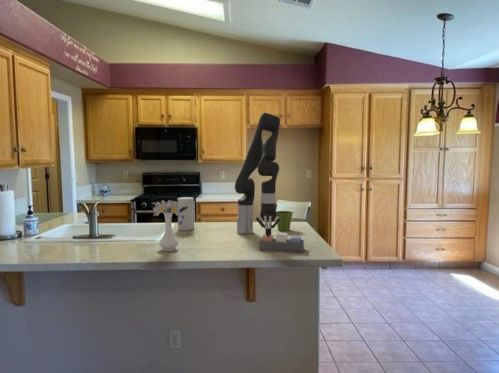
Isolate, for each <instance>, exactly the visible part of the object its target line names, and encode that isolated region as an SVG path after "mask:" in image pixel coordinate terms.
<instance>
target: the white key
mask: <svg viewBox="0 0 499 373" xmlns="http://www.w3.org/2000/svg"><path fill="white" fill-rule="evenodd" d="M275 236H276V237H275V239H276V242H285V243H287V239H288V232H276V235H275Z"/></svg>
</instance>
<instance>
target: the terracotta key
mask: <svg viewBox="0 0 499 373" xmlns="http://www.w3.org/2000/svg"><path fill="white" fill-rule="evenodd" d="M274 236H275V235H274V234H271V235H270V236H267V235H266V234H263V235H262V237H261V238H262V241H265V242H274V239H275V238H274Z"/></svg>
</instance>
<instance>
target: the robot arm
mask: <svg viewBox="0 0 499 373" xmlns="http://www.w3.org/2000/svg"><path fill="white" fill-rule="evenodd" d="M256 125H257V126H256V129H255V133H254V136H253V139H252V140H251V144H250V146H249V149H248V150H247V151H248V152H247V155H246V157H245V160H244V162H243V165H242V167H241V170H240V172H239V174H238V176H237V178H236V180H235V184H234V191H235V192H236V193H237V194H242V195H243V196H242V197H241V198H239V199H238V200H237V217H236V234H242V235H248V234H249V235H251V234H253V233H254V200H255V191H256V190H255V189H256V183H255V180H254V179H253V178H251V177H250V176H251V175H252V173H254V171H256V170H257V173H258V175H259V176H261V177H271V178H270V179H268V180H264V181H262V182H261V185H260V186H261V192H260V193H261V195H260V213H259V215H258V216H257V217H255V220H256V222H258V224H259V225H260V227H261V228H264V229H265V234H264V235H267V236H270V235H272V229H274V228H275V227H276V226H277V223H278V222H279V221H280V220H281V218H279V217H278V216H277V214H276V211H277V195H276V187H277V186H276V184H277V178H278V176H279V171H280V165H279V164H278V162H276V161H275V160H276V158H277V142H278V137H279V132H280V127H281V126H280V125H281V118H280V117H279V116H278V115H274V114H272V113H268V112H262V114H261V115H260V117H259V119H258V123H257V124H256ZM263 131H266V132H268V133H271V135H270V136H269V138H267V139H266V140H265V141H264V142H263V138H262V136H263V135H262V134H263ZM262 220H263V221H262ZM274 220H275V221H274ZM273 222H274V223H273Z"/></svg>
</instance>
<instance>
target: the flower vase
mask: <svg viewBox="0 0 499 373" xmlns="http://www.w3.org/2000/svg"><path fill="white" fill-rule="evenodd" d="M155 203H156V204H155V207H152V211H153V213H154V214H153V217H155V216H156V217H158V216H159V215H160V214H161V213H163V215H164V222H165V224H164V226H165V228H164V234H163V236H162V237H161V238H160V239H159V243H158V245H159V246H160V248H161V249H162V251H164V252H172V251H175V250H176V248H177V246H178V245H179V240H178V238H176V237H175V235H174V233H173V228H172V227H173V226H172V225H173V224H172V217H173V214H175V215H176V216H177V217H178V216H179V213H181V212H180V211H179V210H180V209H182V207H181V206H179V205H178V201H175V200H170V199H169V200H168V201H165V200H161V201H156V202H155Z"/></svg>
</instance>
